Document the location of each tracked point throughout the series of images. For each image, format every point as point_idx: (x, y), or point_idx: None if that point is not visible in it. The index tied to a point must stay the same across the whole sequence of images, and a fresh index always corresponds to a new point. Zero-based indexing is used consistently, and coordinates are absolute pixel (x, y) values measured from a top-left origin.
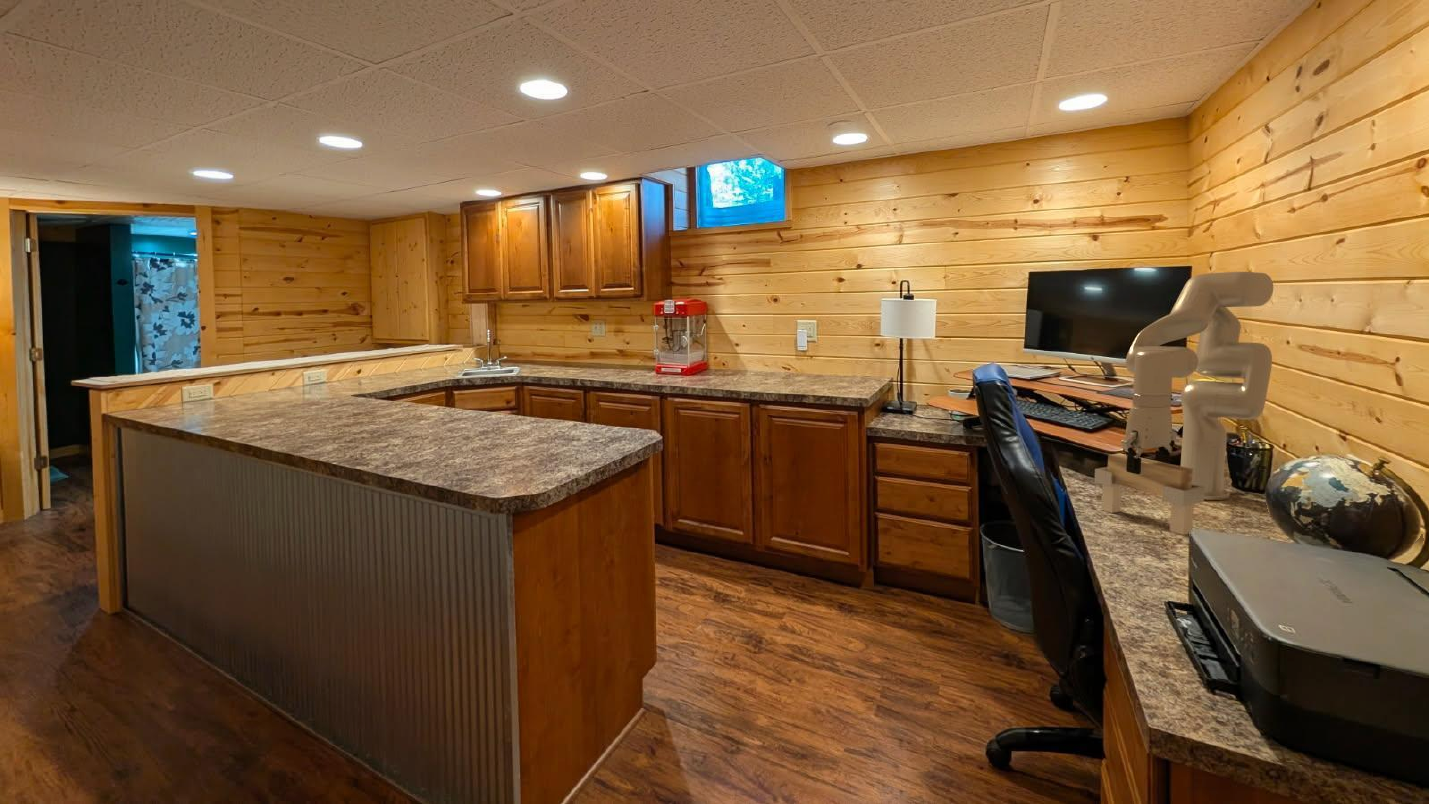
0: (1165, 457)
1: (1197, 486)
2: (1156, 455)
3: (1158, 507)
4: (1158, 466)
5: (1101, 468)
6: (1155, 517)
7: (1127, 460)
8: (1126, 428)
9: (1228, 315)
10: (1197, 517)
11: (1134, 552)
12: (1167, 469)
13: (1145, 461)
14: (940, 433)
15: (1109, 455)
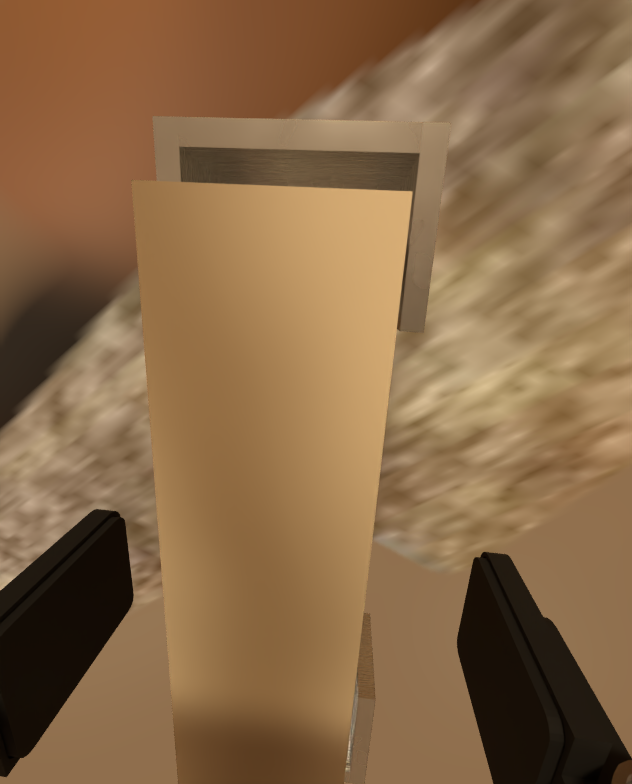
0: (494, 758)
1: (351, 758)
2: (521, 673)
3: (571, 328)
4: (181, 766)
5: (227, 136)
6: (406, 406)
7: (4, 596)
8: None
9: None
10: (545, 483)
11: (35, 555)
12: None
13: (236, 648)
14: None
15: (138, 203)
